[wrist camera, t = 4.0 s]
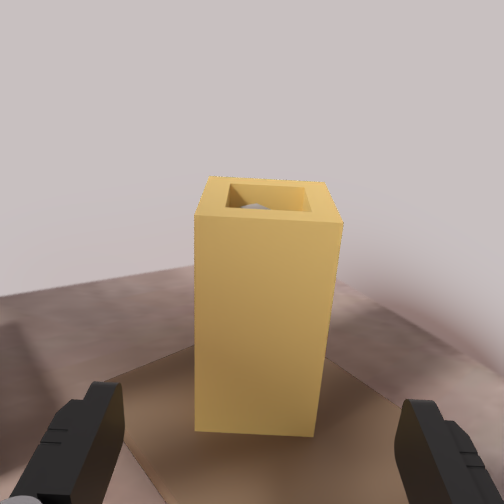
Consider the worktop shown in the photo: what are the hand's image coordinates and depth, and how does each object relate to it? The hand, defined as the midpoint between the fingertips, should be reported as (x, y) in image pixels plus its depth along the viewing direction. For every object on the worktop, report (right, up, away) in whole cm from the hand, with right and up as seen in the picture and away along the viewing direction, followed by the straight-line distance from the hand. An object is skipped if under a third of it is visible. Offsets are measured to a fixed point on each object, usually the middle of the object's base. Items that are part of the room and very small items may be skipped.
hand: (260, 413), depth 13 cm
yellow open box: (0, -2, +9) cm, 10 cm away
